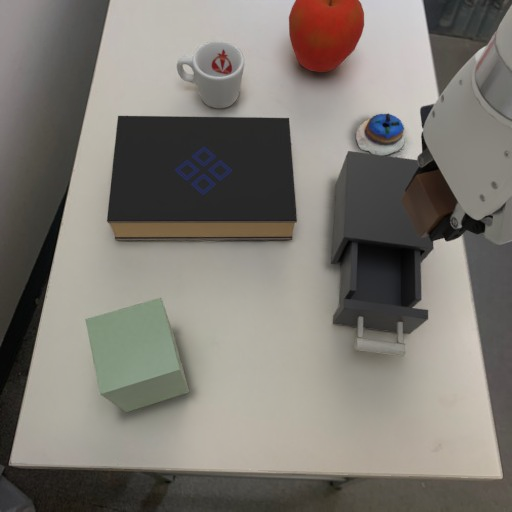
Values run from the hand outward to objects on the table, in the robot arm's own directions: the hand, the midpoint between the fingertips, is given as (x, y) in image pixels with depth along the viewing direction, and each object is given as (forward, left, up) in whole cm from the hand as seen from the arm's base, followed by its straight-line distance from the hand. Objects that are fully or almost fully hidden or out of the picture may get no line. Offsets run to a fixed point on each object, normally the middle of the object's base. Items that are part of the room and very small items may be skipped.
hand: (431, 211), depth 48 cm
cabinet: (+9, -4, -23) cm, 25 cm away
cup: (+40, +12, -23) cm, 48 cm away
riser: (-2, +32, -23) cm, 39 cm away
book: (+22, +18, -23) cm, 37 cm away
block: (0, 0, 0) cm, 0 cm away
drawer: (-1, +1, -22) cm, 22 cm away
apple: (+42, -8, -23) cm, 49 cm away
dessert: (+24, -12, -23) cm, 36 cm away
